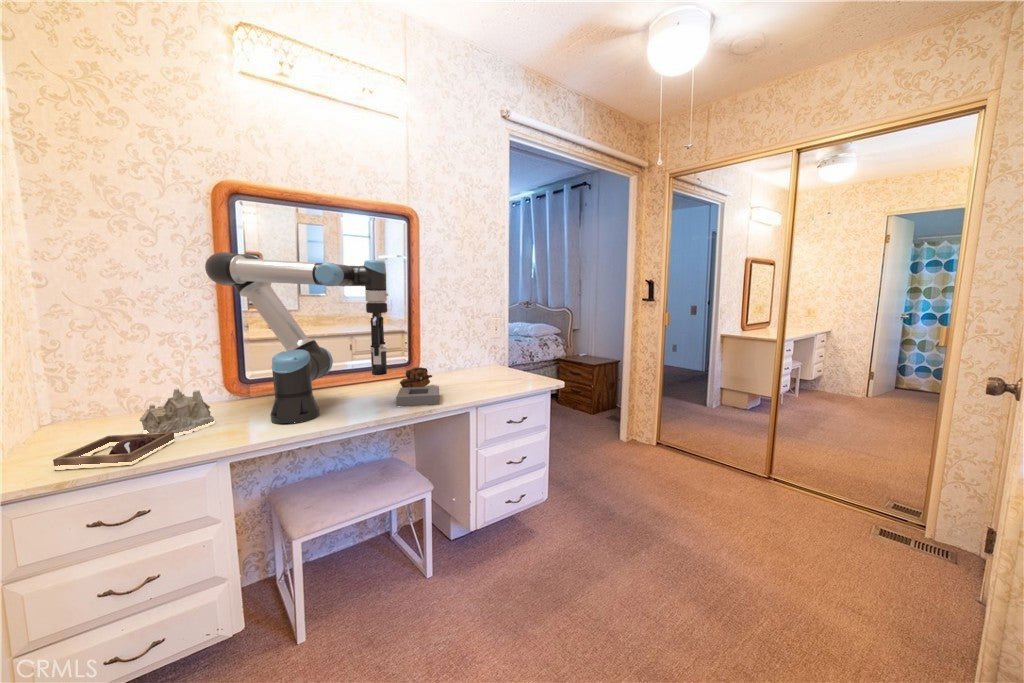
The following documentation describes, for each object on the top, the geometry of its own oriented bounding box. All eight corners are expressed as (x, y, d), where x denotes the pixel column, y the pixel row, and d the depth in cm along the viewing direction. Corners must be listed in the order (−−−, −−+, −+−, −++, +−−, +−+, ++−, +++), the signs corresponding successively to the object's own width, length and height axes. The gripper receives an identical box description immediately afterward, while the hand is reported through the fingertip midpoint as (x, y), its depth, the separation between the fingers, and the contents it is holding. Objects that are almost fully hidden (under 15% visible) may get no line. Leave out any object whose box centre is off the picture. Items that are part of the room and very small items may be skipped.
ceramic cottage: (223, 422, 132) (214, 379, 129) (170, 442, 116) (159, 394, 114) (190, 420, 136) (181, 379, 134) (134, 440, 120) (123, 394, 118)
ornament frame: (54, 470, 97) (52, 459, 96) (109, 445, 112) (107, 435, 112) (132, 465, 100) (130, 454, 99) (174, 441, 115) (173, 432, 115)
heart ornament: (118, 475, 100) (94, 449, 102) (168, 462, 112) (146, 440, 114) (130, 456, 100) (106, 430, 102) (179, 445, 111) (156, 422, 113)
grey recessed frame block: (396, 407, 148) (396, 397, 148) (400, 397, 162) (400, 387, 162) (438, 404, 151) (438, 395, 150) (439, 395, 165) (439, 386, 164)
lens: (370, 375, 145) (369, 349, 144) (372, 372, 151) (372, 347, 149) (386, 375, 146) (385, 349, 145) (388, 371, 152) (387, 346, 150)
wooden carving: (405, 393, 167) (404, 371, 166) (399, 392, 170) (398, 370, 168) (434, 386, 180) (434, 365, 179) (428, 384, 183) (427, 364, 181)
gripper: (382, 303, 136) (385, 367, 139) (390, 301, 155) (392, 357, 158) (360, 303, 135) (363, 367, 138) (370, 301, 153) (373, 358, 156)
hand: (378, 362), depth 148 cm, fingers closed on lens, 6 cm apart
